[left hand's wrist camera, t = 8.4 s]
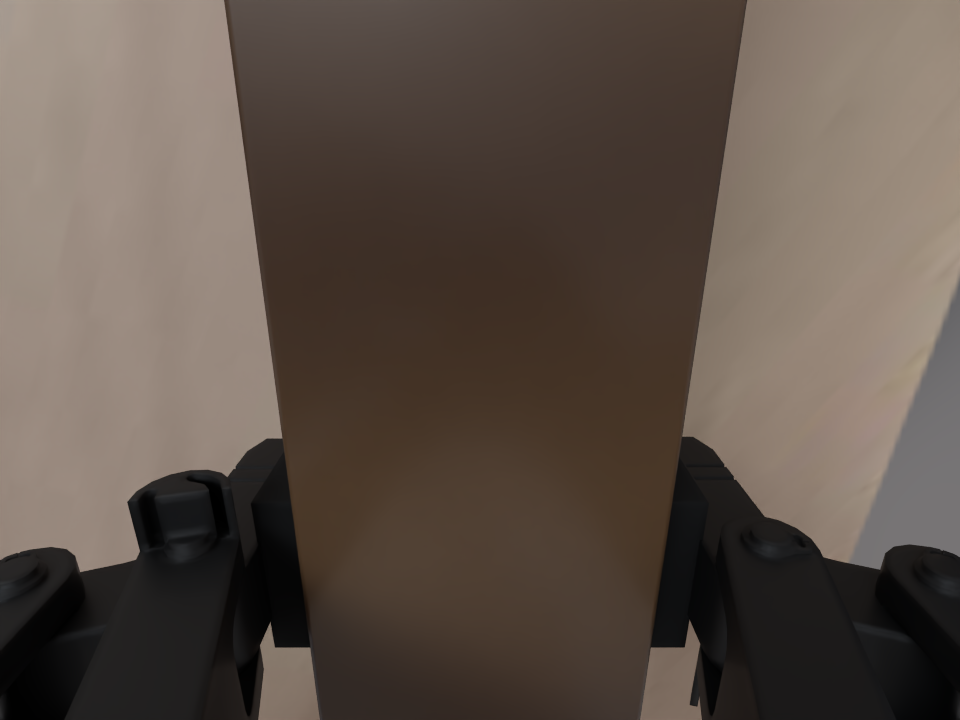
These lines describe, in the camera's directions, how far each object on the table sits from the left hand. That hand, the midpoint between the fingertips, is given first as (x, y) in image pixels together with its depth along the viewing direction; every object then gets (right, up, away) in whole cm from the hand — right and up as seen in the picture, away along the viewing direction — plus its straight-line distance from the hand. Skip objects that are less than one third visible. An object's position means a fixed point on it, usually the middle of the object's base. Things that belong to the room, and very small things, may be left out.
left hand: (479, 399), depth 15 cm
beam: (0, +20, -7) cm, 21 cm away
